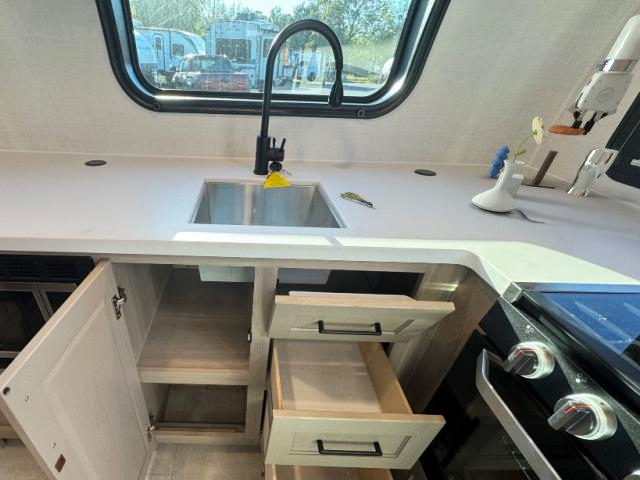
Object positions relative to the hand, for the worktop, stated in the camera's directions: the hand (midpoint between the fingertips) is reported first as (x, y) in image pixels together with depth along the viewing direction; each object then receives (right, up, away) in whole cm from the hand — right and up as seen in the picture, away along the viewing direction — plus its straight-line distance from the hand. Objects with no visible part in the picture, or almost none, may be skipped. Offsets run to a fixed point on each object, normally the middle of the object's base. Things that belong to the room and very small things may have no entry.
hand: (577, 133), depth 108 cm
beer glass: (+2, -21, +3) cm, 21 cm away
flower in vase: (-37, -29, -9) cm, 48 cm away
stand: (-4, -14, +12) cm, 18 cm away
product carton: (-27, -22, 0) cm, 35 cm away
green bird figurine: (-78, -26, -7) cm, 83 cm away
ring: (-3, +1, +1) cm, 4 cm away
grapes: (-13, -8, +20) cm, 25 cm away
